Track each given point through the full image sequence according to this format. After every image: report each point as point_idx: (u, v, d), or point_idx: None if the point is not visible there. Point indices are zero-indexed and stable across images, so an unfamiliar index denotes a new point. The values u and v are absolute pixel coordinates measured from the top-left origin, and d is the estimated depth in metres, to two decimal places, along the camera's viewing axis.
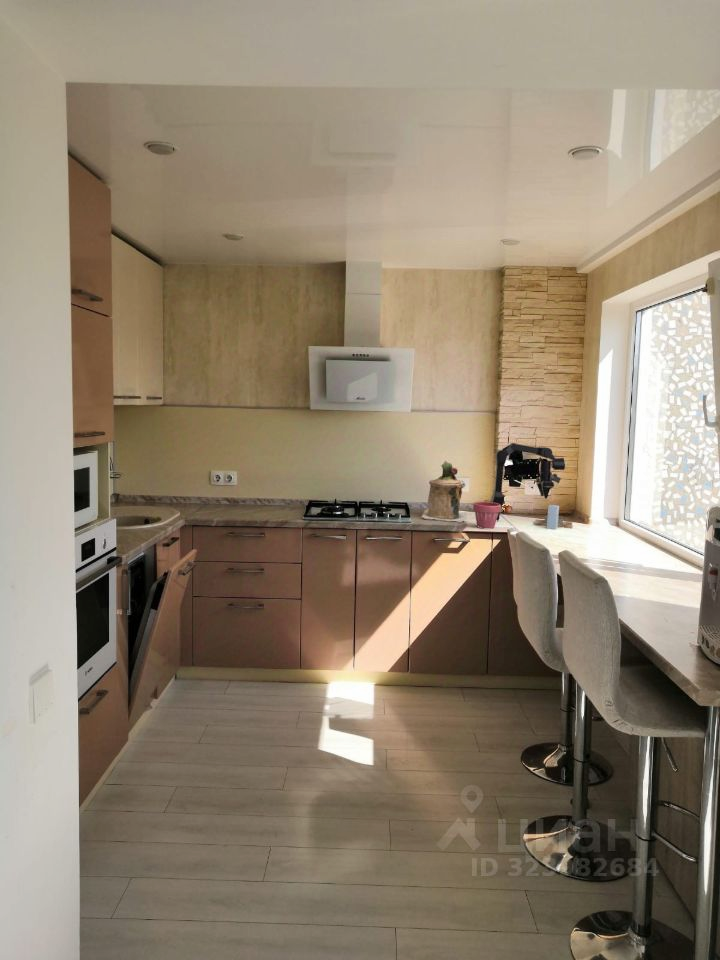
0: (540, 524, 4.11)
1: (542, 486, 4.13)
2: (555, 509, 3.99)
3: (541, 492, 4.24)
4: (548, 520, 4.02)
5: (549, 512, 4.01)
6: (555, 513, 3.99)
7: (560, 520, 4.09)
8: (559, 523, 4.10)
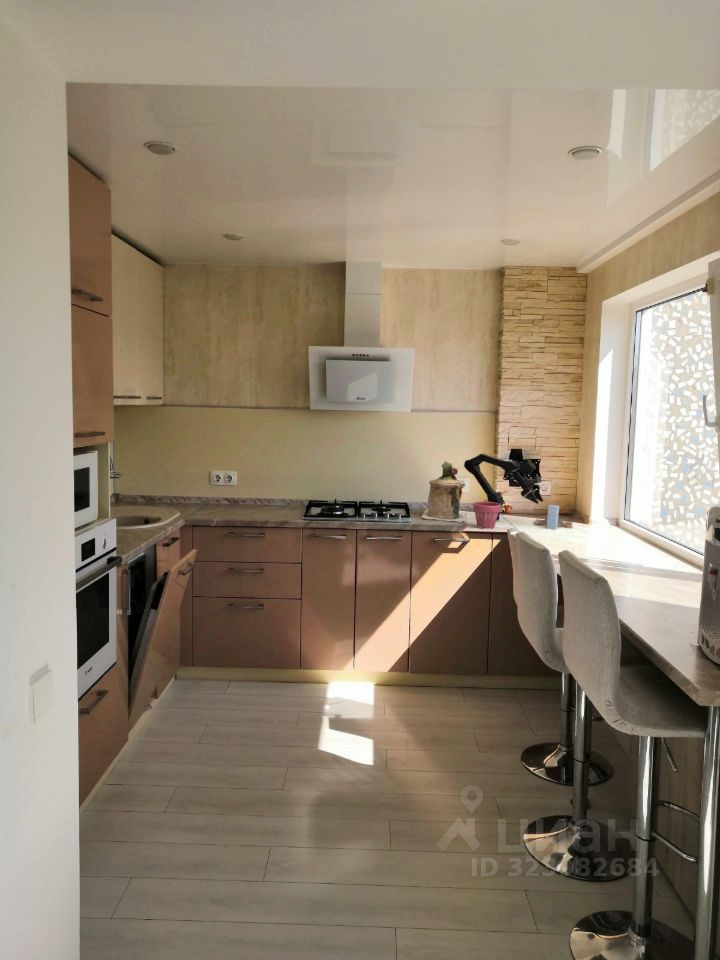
0: (540, 524, 4.11)
1: (525, 496, 4.03)
2: (555, 509, 3.99)
3: (539, 499, 4.10)
4: (548, 520, 4.02)
5: (549, 512, 4.01)
6: (555, 513, 3.99)
7: (560, 520, 4.09)
8: (559, 523, 4.10)
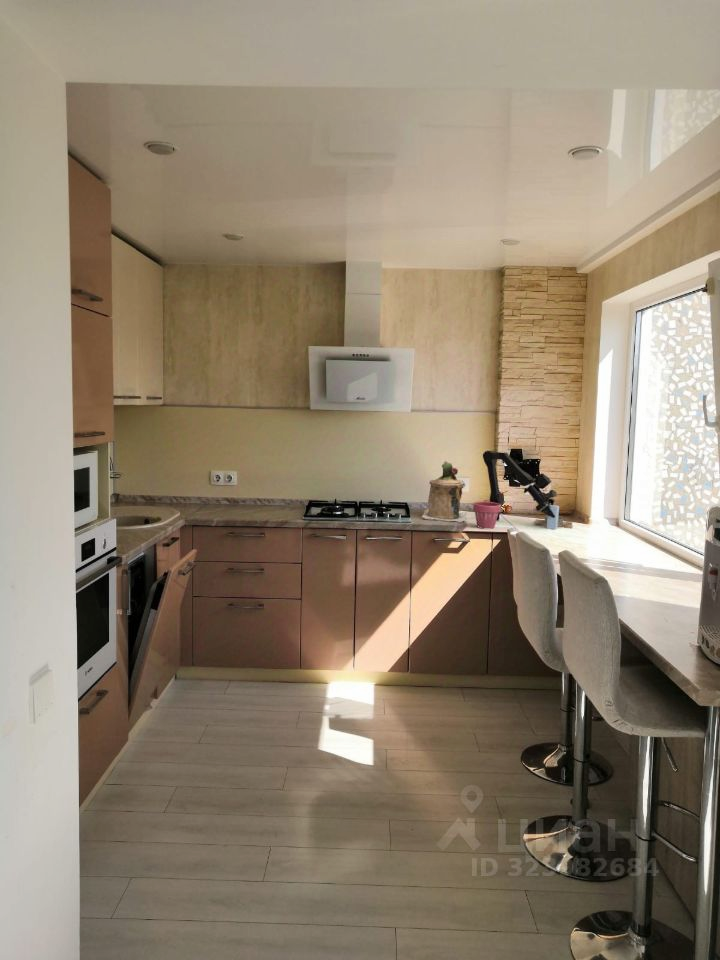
0: (540, 524, 4.11)
1: (541, 510, 4.01)
2: (555, 509, 3.99)
3: None
4: (548, 520, 4.02)
5: None
6: (555, 513, 3.99)
7: (560, 520, 4.09)
8: (559, 523, 4.10)
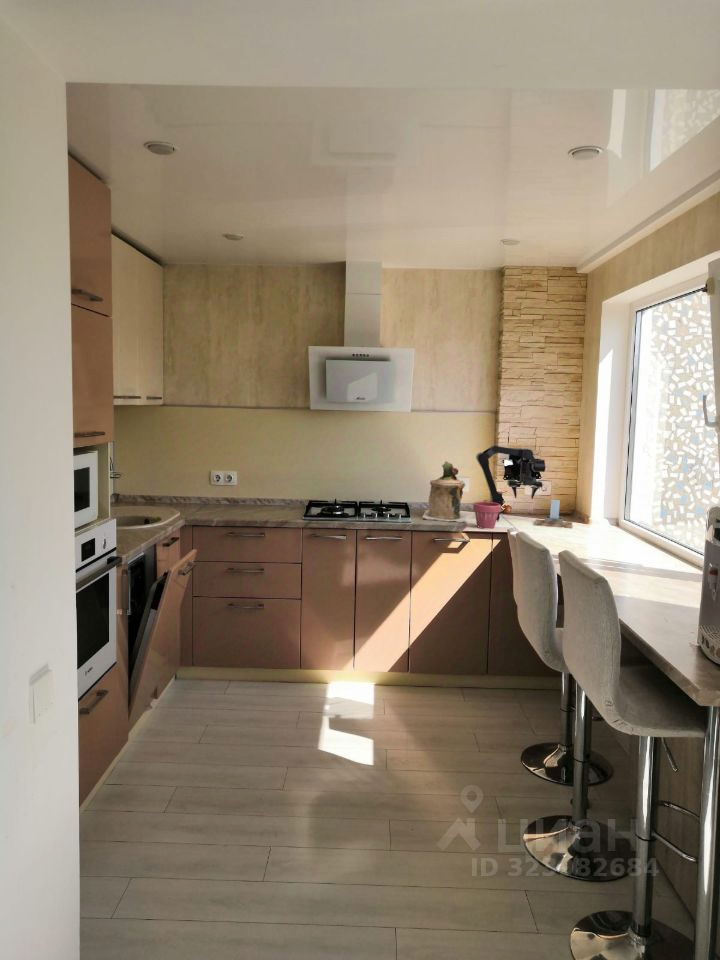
0: (540, 524, 4.11)
1: None
2: (558, 504, 4.11)
3: (531, 495, 4.21)
4: (551, 515, 4.13)
5: (552, 507, 4.12)
6: (558, 508, 4.11)
7: (560, 520, 4.09)
8: (559, 523, 4.10)
